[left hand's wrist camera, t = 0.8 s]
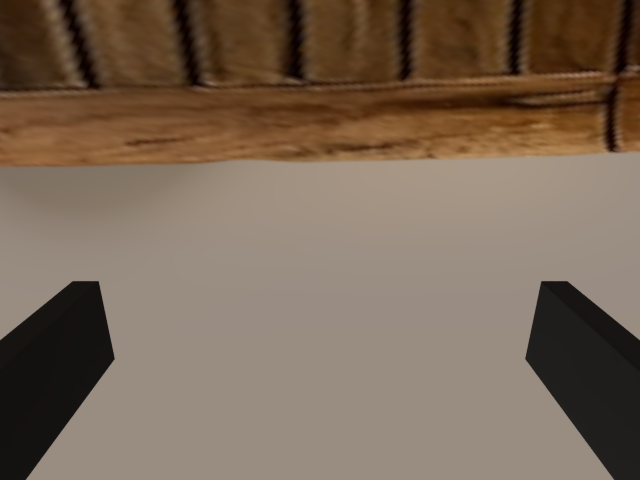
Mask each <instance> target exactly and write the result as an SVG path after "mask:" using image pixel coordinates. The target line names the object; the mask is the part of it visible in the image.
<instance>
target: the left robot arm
mask: <svg viewBox="0 0 640 480" xmlns="http://www.w3.org/2000/svg"><path fill="white" fill-rule="evenodd" d="M114 359H115V358H114V353H113V349H112V343H111V339H110V334H109V329H108V324H107V319H106V315H105V310H104V305H103V300H102V295H101V291H100V286H99V282H98V281H73V282H71V283H70V284H69V285H68V286H66V287H65V288H64V289H63V290H61V291H60V292H59V293H58V294H57V295H55V296H54V297H53V298H52V299H50V300H49V301H48V302H47V303H46V304H44V305H43V306H42V307H41V308H39V309H38V310H37V311H36V312H34V313H33V314H32V315H31V316H30V317H28V318H27V319H26V320H25V321H23V322H22V323H21V324H20V325H18V326H17V327H16V328H15V329H14V330H12V331H11V332H10V333H9V334H7V335H6V336H5V337H4V338H3V339H1V340H0V480H26V479H27V477H28V476H29V475H30V473H31V472H32V471H33V469H34V468H35V466H36V465H37V464H38V462H39V461H40V460H41V458H42V457H43V456H44V454H45V453H46V452H47V450H48V449H49V447H50V446H51V445H52V443H53V442H54V441H55V439H56V438H57V437H58V435H59V434H60V433H61V431H62V430H63V428H64V427H65V426H66V424H67V423H68V422H69V420H70V419H71V418H72V416H73V415H74V414H75V412H76V411H77V409H78V408H79V407H80V405H81V404H82V403H83V401H84V400H85V399H86V397H87V396H88V394H89V393H90V392H91V390H92V389H93V388H94V386H95V385H96V384H97V382H98V381H99V380H100V378H101V377H102V375H103V374H104V373H105V371H106V370H107V369H108V367H109V366H110V365H111V363H112V362H113V361H114ZM525 359H526V361H527V362H528V363H529V365H530V366H531V367H532V369H533V370H534V371H535V373H536V374H537V375H538V377H539V378H540V380H541V381H542V382H543V384H544V385H545V386H546V388H547V389H548V390H549V392H550V393H551V395H552V396H553V397H554V399H555V400H556V401H557V403H558V404H559V405H560V407H561V408H562V409H563V411H564V412H565V414H566V415H567V416H568V418H569V419H570V420H571V422H572V423H573V424H574V426H575V427H576V428H577V430H578V431H579V432H580V434H581V435H582V437H583V438H584V439H585V441H586V442H587V443H588V445H589V446H590V447H591V449H592V450H593V452H594V453H595V454H596V456H597V457H598V458H599V460H600V461H601V462H602V464H603V465H604V466H605V468H606V469H607V471H608V472H609V473H610V475H611V476H612V477H613V479H614V480H640V340H639V339H638V338H636V337H635V336H634V335H633V334H631V333H630V332H629V331H628V330H626V329H625V328H624V327H623V326H622V325H620V324H619V323H618V322H617V321H615V320H614V319H613V318H612V317H610V316H609V315H608V314H607V313H606V312H604V311H603V310H602V309H601V308H599V307H598V306H597V305H596V304H595V303H593V302H592V301H591V300H590V299H588V298H587V297H586V296H585V295H583V294H582V293H581V292H580V291H579V290H577V289H576V288H575V287H574V286H572V285H571V284H570V283H569V282H567V281H542V282H541V286H540V290H539V295H538V300H537V305H536V310H535V314H534V319H533V324H532V329H531V334H530V339H529V343H528V349H527V353H526V358H525Z"/></svg>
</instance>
